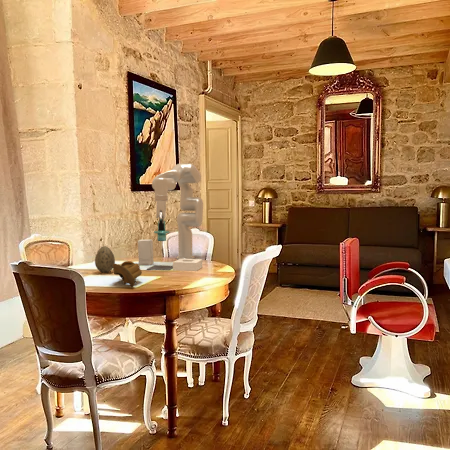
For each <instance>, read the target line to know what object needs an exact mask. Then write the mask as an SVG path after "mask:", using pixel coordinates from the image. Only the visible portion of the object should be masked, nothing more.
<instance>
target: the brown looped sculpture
mask: <svg viewBox="0 0 450 450" xmlns="http://www.w3.org/2000/svg"><path fill="white" fill-rule="evenodd" d="M140 266H141V265H139V263H136V262H135V263H134V262H133V261H131V260H127V261H123V262H122V263H121V264H118V263H115V264H113V269H112V271H113V274H114V275H117V276H119V277H120V278H121V280H122V281H123V282H122V284H124V285H125V284H128V285H129V286H130V287H134V286H135V285H136V279H137V278H138V277H140V276H141V275H142V273H143V271H142V269H141V267H140Z"/></svg>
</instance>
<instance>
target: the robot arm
mask: <svg viewBox="0 0 450 450" xmlns="http://www.w3.org/2000/svg"><path fill="white" fill-rule="evenodd" d="M201 179H202V175H201V172H200V170H198V168H197V167H196V165H194V164H193V163H177V164H175V165H174V166H173V167H172V168H171V169H170V170H168V171H165V172H163V173H162V172H161V173H159V174H157V175H155V177H154V178H153V180H152V181H151V187H152V189H153V191H154V202H156V210H155V211H156V212H155V213H156V215H155V216H156V217H155V218H156V219H158V221H159V230H164V221H165V218H166V211H167V209H166V208H167V206H166V205H167V204H166V203H167V202H169V197H168V196H169V195H168V193H169V192H168V191H173V190H175V188H176V186H177V184H178V186H179V188H180V198H179V199H180V201H179V208H180V210H182V211H183V212H179V213H178V214H177V216H176V224H177V233H178V237H177V238H178V239H177V240H178V243H177V244H178V248H177V249H178V250H177V251H178V255H177V256H176V258H175V259H176V260H178V259H196V257H195V255H193V231H192V229H191V227H193V228H194V227H201V226H202V224H203V217H204V216H203V215H204V201H203V199H202V198H201V197H199V196H194V189H193V187H192V186H191V184H198V183H200V182H201Z"/></svg>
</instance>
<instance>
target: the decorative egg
mask: <svg viewBox="0 0 450 450" xmlns="http://www.w3.org/2000/svg"><path fill="white" fill-rule="evenodd" d="M113 264H116V259H115V255H114V252H113V251H112V249H111V248H110V247H108V246H107V245H103V246H101V247H100V248H99V249H98V250H97V252H96V254H95V258H94V265H95V268H96V269H97V270H98V271H99V272H101V273H104V274H107V273H109V272H111V271H113Z"/></svg>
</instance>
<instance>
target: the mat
mask: <svg viewBox="0 0 450 450" xmlns="http://www.w3.org/2000/svg"><path fill="white" fill-rule="evenodd" d="M153 270H154V271H171V270H173V265H163V264H162V265H161V264H159V265H158V264H157V265H156V264H155V265H151V266H150V267H148V268H146V271H153Z"/></svg>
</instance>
